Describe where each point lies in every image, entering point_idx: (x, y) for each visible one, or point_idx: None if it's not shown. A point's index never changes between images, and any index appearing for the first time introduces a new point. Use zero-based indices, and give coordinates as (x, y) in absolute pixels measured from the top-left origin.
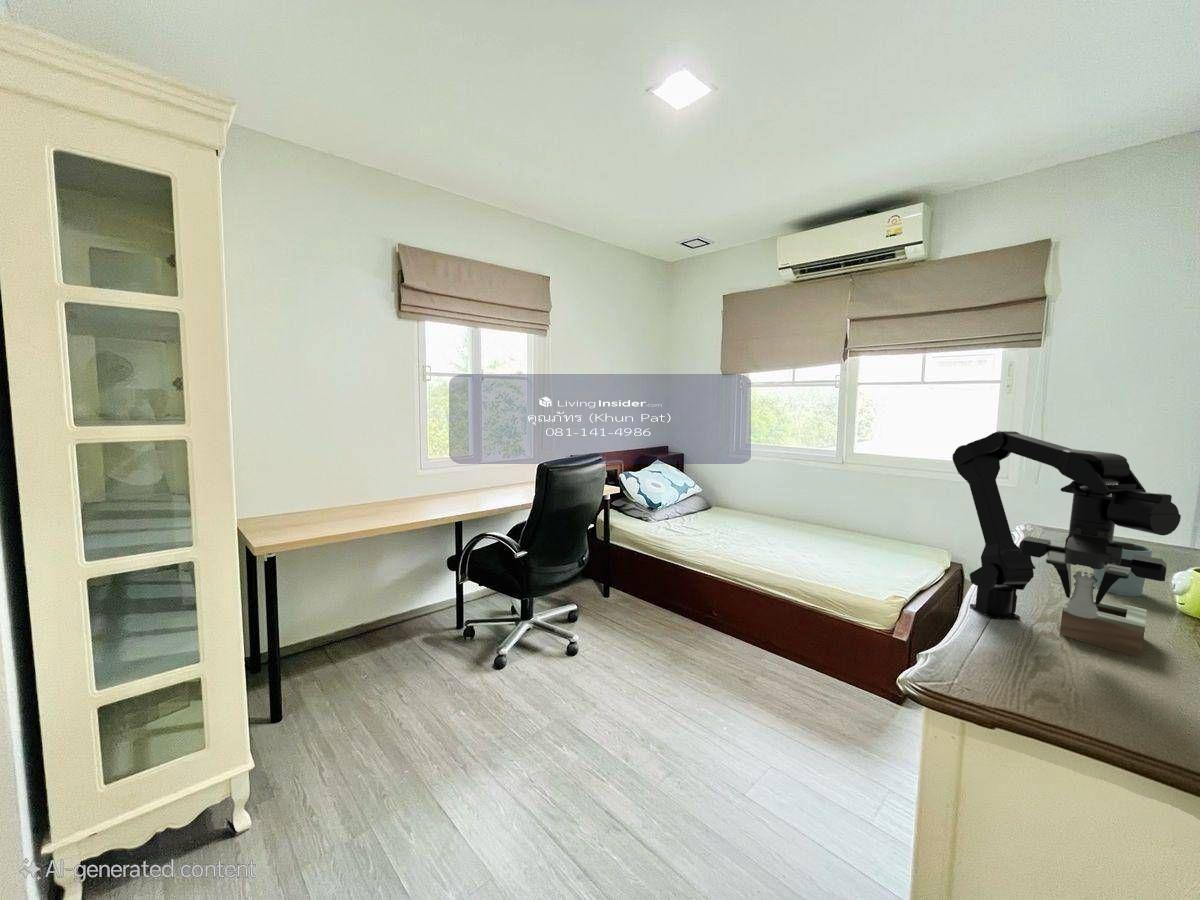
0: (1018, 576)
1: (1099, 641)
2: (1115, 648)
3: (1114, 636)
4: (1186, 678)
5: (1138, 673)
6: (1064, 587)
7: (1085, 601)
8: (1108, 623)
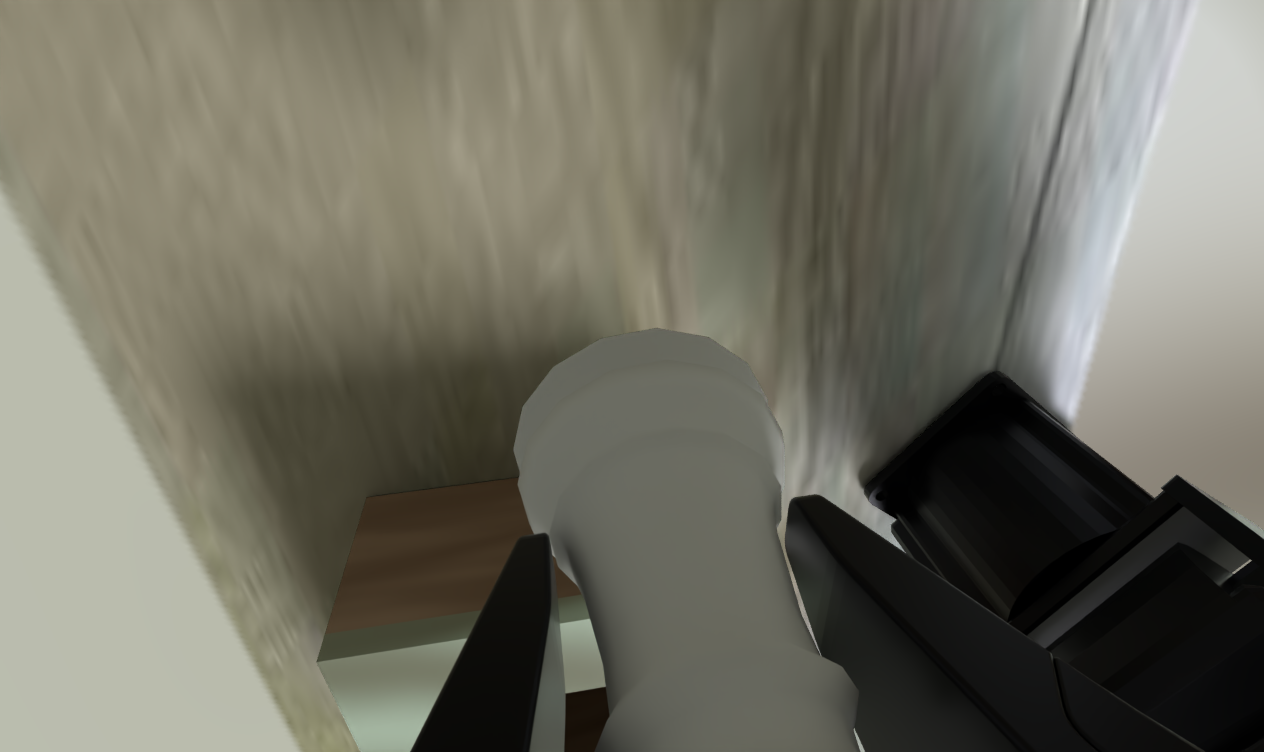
0: (1143, 687)
1: None
2: (467, 491)
3: (472, 541)
4: (139, 416)
5: (287, 250)
6: (923, 577)
7: (639, 481)
8: None
